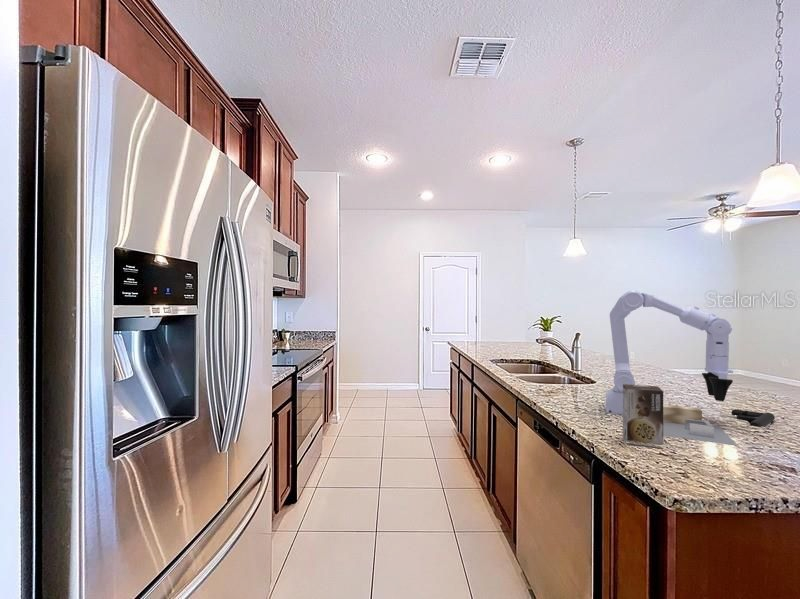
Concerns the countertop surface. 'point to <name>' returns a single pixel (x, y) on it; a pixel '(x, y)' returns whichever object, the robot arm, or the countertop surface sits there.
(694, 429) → the end cap
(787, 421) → the countertop surface
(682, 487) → the countertop surface
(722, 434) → the board
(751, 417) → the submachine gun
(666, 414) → the slat
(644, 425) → the coffee box
